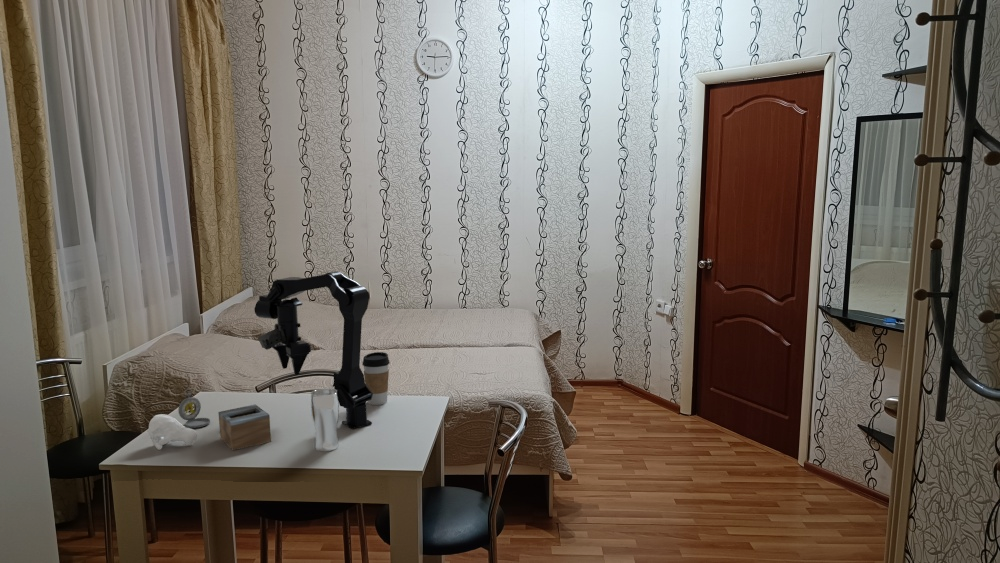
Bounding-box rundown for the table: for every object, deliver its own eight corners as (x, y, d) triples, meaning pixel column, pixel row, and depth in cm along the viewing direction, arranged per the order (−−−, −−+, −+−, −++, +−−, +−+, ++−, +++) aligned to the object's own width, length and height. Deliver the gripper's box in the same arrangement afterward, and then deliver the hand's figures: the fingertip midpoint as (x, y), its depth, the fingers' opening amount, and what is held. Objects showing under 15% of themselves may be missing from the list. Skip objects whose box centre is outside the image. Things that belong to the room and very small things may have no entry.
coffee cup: (396, 399, 229) (394, 352, 227) (383, 407, 222) (381, 359, 219) (372, 396, 232) (370, 351, 230) (358, 404, 224) (356, 357, 222)
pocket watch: (204, 429, 205) (201, 394, 204) (175, 429, 206) (172, 395, 204) (216, 419, 213) (213, 386, 212) (188, 419, 214) (185, 386, 212)
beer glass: (327, 454, 186) (324, 397, 183) (307, 449, 189) (304, 393, 187) (346, 445, 192) (343, 390, 189) (327, 440, 195) (324, 386, 193)
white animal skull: (156, 410, 195) (201, 413, 195) (155, 440, 196) (200, 443, 197) (145, 418, 189) (192, 421, 189) (145, 449, 190) (191, 452, 190)
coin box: (271, 441, 195) (269, 414, 194) (233, 450, 189) (231, 422, 188) (257, 430, 204) (255, 404, 203) (220, 438, 198) (218, 411, 197)
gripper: (249, 319, 217) (252, 370, 219) (272, 329, 202) (275, 383, 205) (285, 314, 223) (288, 363, 226) (310, 323, 209) (313, 376, 211)
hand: (290, 371), depth 217 cm, fingers open, 9 cm apart
